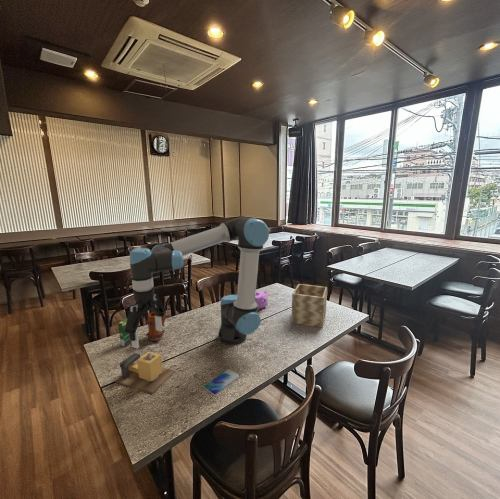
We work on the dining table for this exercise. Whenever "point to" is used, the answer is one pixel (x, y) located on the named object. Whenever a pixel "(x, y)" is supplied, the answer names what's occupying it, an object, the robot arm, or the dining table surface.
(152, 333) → the mug
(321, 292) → the planter
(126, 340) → the coffee box
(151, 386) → the base
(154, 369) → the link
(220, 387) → the smartphone
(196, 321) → the dining table surface
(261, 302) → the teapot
